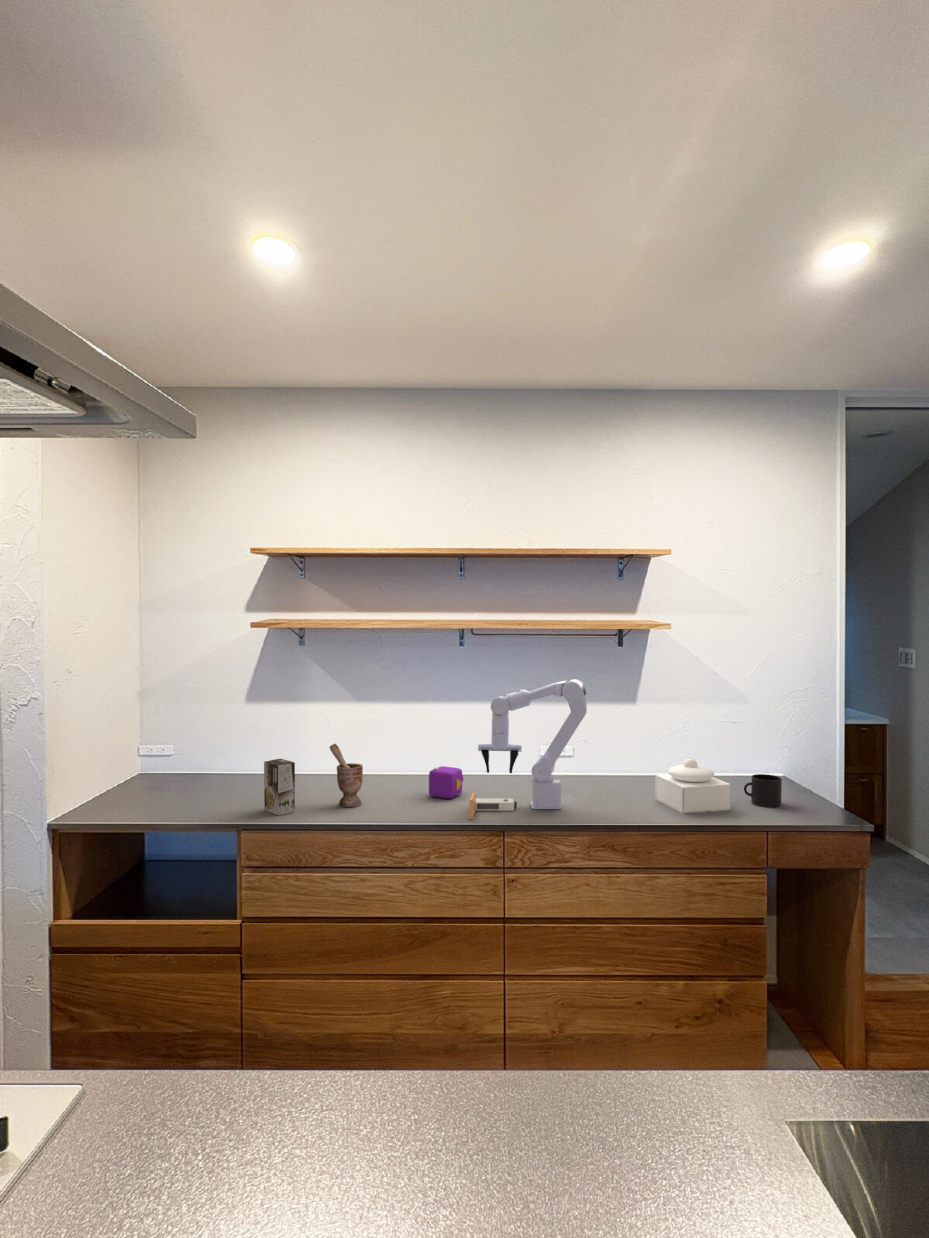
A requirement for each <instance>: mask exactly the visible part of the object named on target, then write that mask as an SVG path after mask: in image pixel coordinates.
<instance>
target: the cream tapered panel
mask: <svg viewBox="0 0 929 1238" xmlns="http://www.w3.org/2000/svg"><path fill="white" fill-rule="evenodd" d="M517 808H518V803H517V800H514V798H476V809H475V812H476V811H477V812H478V811H482V812H483V811H487V812H488V811H492V812H493V811H497V812H499V811H502V812H503V811H504V812H505V811H506V812H507V811H508V812H509V811H513V812H514V811H515V809H517Z"/></svg>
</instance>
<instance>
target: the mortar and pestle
mask: <svg viewBox="0 0 929 1238" xmlns="http://www.w3.org/2000/svg"><path fill="white" fill-rule="evenodd" d="M329 750H330V751H331V753H332V755H333V756H334V758H335V759H336V761H338V764H339V765H337V766H336V775H337V776H336V779H337V785H338V788H339V790H340V792H341V793H342V794H343V795H342V797H341V798H340V800H339V802H338V804H339V806H340V807H344V808H351V807H353V808H354V807H355V808H356V807H359V806H361V804H362V801H361V800H362V799H361V798H360V797H359V796H358V792H360V790H361V788H362V783H363V775H364V774H363V770H364V769H363V767H364V766H363V764H362V763H352V762H350V763H347V762H346V760H345V758H344V757H343V754H342V752H341V750H340V747H339V746H338V745H337V744H336V743H333V744H331V745H330V746H329Z"/></svg>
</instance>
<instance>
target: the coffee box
mask: <svg viewBox="0 0 929 1238" xmlns="http://www.w3.org/2000/svg"><path fill="white" fill-rule="evenodd" d="M295 767H296V762H294V761H291V760H287V759H283V758H276V759H271V760H266V761H264V762H263V782H264V785H263V788H264V789H263V793H264V794H263V797H264V798H263V799H264V801H263V802H264V811H266V812H269V813H271V814H273V815H276V816H282V815H286V814H287V815H288V814H291V813H296V811H295V810H296V807H295V806H296V805H295V804H296V799H295V798H296V793H295V791H296V790H295V789H296V788H295V786H296V784H295V783H296V777H295V775H296V774H295V773H296V772H295V771H296V770H295V769H296V768H295Z"/></svg>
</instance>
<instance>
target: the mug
mask: <svg viewBox="0 0 929 1238" xmlns="http://www.w3.org/2000/svg"><path fill="white" fill-rule="evenodd" d="M782 780H783V779H782V777H780V776H777V775H773V774H764V773H763V774H762V773H758V774H752V775H751V781H750V782H747V783H745V784H744V787H743V792H744V794H745V795H746V796H748V797H751V798H750V799H751V804H752V805H755V806H757V807H763V808H778V807H781V805H782V792H783V791H782V789H783V788H782V787H783V786H782V785H783V784H782ZM748 786H750V787H751V792H748V790H747V787H748Z"/></svg>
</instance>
